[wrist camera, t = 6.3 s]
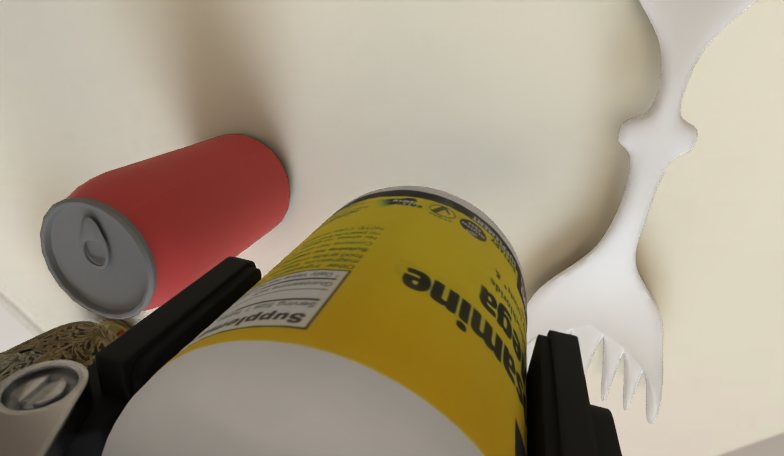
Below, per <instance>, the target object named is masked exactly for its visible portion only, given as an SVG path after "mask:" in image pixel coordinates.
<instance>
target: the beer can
mask: <svg viewBox="0 0 784 456" xmlns="http://www.w3.org/2000/svg"><path fill="white" fill-rule="evenodd" d="M289 198H290V188H289V182H288V176H287V174H286V172H285V170H284V168H283V166H282V164H281V162H280V160H279V159H278V158H277V157H276V156H275V155H274V153H273V152H272V151H271V150H270V149H269V148H268V147H266V146H265V145H263V144H262V143H260V142H259V141H257V140H256V139H253V138H250V137H247V136H244V135H240V134H231V135H222V136H219V137H216V138H213V139H209V140H206V141H203V142H200V143H197V144H194V145H191V146H187V147H184V148H181V149H178V150H175V151H172V152H168V153H165V154H162V155H159V156H156V157H153V158H149V159H146V160H143V161H140V162H137V163H134V164H130V165H127V166H124V167H121V168H118V169H115V170H111V171H108V172H105V173H103V174H101V175H99V176H97V177H94V178H92V179H90V180H88V181H87V182H85V183H84V184H82V185H81V186H79V187H78V188H77V189H76V190H75V191H74V192H73V193H72V194H71V195H70V196H69V197H68V198H67V199H64V200H62V201H60V202H58V203H56V204H54V205H52V207H51V208H50V209H49V211H48V212H47V213H46V215H45V216H44V218H43V223H42V227H41V232H40V238H41V247H42V253H43V256H44V258H45V261H46V264H47V266H48V269H49V271H50V272H51V274H52V275H53V277H54V278H55V280H56V282H57V283H58V285H59V286H60V287H61V288H62V289H63V290H64V291H65V292H66V293H67V294H68V296H69V297H70V298H71V299H72V300H73V301H75V302H76V303H78V304H79V305H81V306H82V307H84V308H85V309H87V310H88V311H90V312H93V313H95V314H98V315H101V316H103V317H106V318H113V319H126V318H129V317H133V316H136V315H138V314H139V313H141V312H142V311H145V310H149V309H153V308H156V307H160V306H162V305H163V304H165V303H166V302H167V301H169V300H170V299H171V298H173V297H174V296H175V295H177V294H178V293H180V292H181V291H182V290H184V289H185V288H186V287H188V286H189V285H190V284H192V283H193V282H194V281H196V280H197V279H199V278H200V277H201V276H203V275H204V274H205V273H207V272H208V271H209V270H211V269H212V268H214V267H215V266H216V265H218V264H219V263H220V262H222V261H223V260H224V259H226V258H227V257H229V256H231V257H236V256H237V255H238V254H240V253H241V252H242V251H244V250H245V249H247V248H248V247H249V246H251V245H252V244H253V243H255V242H256V241H257V240H259V239H260V238H261V237H263V236H264V235H265V234H267V233H268V232H269V231H271V230H272V229H273V228H274V227H275V226H277V225H278V224H279V223H280V222H281V221H282V219H283V217H284V216H285V214H286V212H287V210H288V205H289Z"/></svg>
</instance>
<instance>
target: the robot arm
mask: <svg viewBox="0 0 784 456" xmlns="http://www.w3.org/2000/svg"><path fill="white" fill-rule="evenodd" d="M260 280H261V271H260V270H259V269H257V268H256V266H255V263H254V262H253V261H249V260H245V259H241V258H236V257H231V256H229V257H227V258H226V259H224V260H223V261H222V262H220V263H219V264H218V265H216V266H215V267H214V268H212V269H211V270H209V271H208V272H207V273H205V274H204V275H203V276H201V277H200V278H199V279H197V280H196V281H194V282H193V283H192V284H190V285H189V286H188V287H186V288H185V289H184V290H182V291H181V292H180V293H178V294H177V295H175V296H174V297H173V298H171V299H170V300H169V301H167V302H166V303H165V304H163V305H162V306H161V307H159V308H158V309H156V310H155V311H154V312H152V313H151V314H150V315H148V316H147V317H146V318H144V319H143V320H141V321H140V322H139V323H137V324H136V325H135V326H133V327H132V328H131V329H129V330H128V331H127V332H125V333H124V334H122V335H121V336H120V337H118V338H117V339H116V340H114V341H113V342H112V343H110V344H109V345H108V346H106V347H105V348H103V349H102V350H101V351H99V352H98V353H97V354H95V359H96V361H95V362H94V363H93V364H91V365H90V366H89V367H87V368H85V367H84V366H83V365H82V364H80V363H78V362H75V361H71V360H51V361H45V362H41V363H37V364H33V365H30V366H28V367H25V368H23V369H20V370H18V371H16V372H14V373H13V374H11V375H9V376H8V377H6V378H5V379H3V380H2V381H1V382H0V456H101V455H102V452H103V449H104V447H105V444H106V441H107V438H108V436H109V434H110V432H111V430H112V428H113V426H114V424H115V422H116V421H117V419H118V417H119V416H120V414H121V413H122V411H123V409H124V408H125V406H126V405H127V404H128V402H129V401H130V400H131V398H132V397H133V396H134V395H135V394H136V393H137V392H138V391H139V390H140V389H141V388H142V387H143V386H144V385H145V384H146V383H147V382H148V381H149V380H150V379H151V378H152V377H153V375H154V374H155V373H156V372H157V371H159V370H160V369H161V368H162V367H163V366H164V365H165V364H166V363H167V362H168V361H170V360H171V359H172V358H173V357H174V356H176V355H177V354H178V353H179V352H180V351H181V350H182V349H183V348H184V347H185V346H186V345H188V344H189V343H190V342H191V341H193V340H194V339H195V338H196V337H197V336H198V335H199V334H200V333H202V332H203V331H204V330H205V329H206V328H208V327H209V326H210V325H211V324H212V323H213V322H214V321H215V320H216V319H218V318H219V317H220V316H221V315H222V314H223V313H224V312H225V311H226V310H228V309H229V308H230V307H231V306H232V305H233V304H234V303H235V302H236V301H237V300H238V299H240V298H241V297H242V296H243V295H244V294H245V293H246V292H248V291H249V290H250V289H251V288H252V287H253V286H254V285H255V284H256V283H258V282H259V281H260ZM527 424H528V432H527V456H622V454H621V450H620V446H619V441H618V437H617V433H616V428H615V424H614V420H613V416H612V414H611V412H610V410H609V409H606V408H602V407H598V406H594V405H590V402H589V397H588V391H587V386H586V380H585V374H584V369H583V363H582V357H581V352H580V346H579V341H578V337H577V336H575V335H570V334H566V333H562V332H557V331H553V330H549V332H548V334H547V336H544V335H540V334H538V336H537V339H536V342H535V346H534V349H533V353H532V356H531V360H530V364H529V367H528V371H527Z"/></svg>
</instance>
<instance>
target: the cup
mask: <svg viewBox="0 0 784 456" xmlns="http://www.w3.org/2000/svg"><path fill="white" fill-rule="evenodd" d="M129 329H131V328H130V327H129V326H128V325H127V324H126V323H124V322H123V321H121V320H118V319H106V320H102V321H100V322H99V323H93V322H87V321H81V322H73V323H68V324H65V325H62V326H59V327H57V328H54V329H52V330H49V331H47V332H45V333H43V334H40V335H38V336H36V337H34V338H32V339H30V340H28V341H26V342H24V343H21V344H20V345H17V346H15V347H13V348H11V349H9V350H7V351H5V352H2V353H0V382H1V381H2V380H3V379H5V378H6V377H8V376H9V375H11V374H13V373H14V372H16V371H18V370H20V369H23V368H25V367H28V366H30V365H33V364H37V363H41V362H45V361H51V360H71V361H75V362H78V363H80V364H82V365H83V366H84V367H85V368H87V367H89V366H90V365H91V364H93V363H94V362H95V361H96V359H95V354H97V353H98V352H99V351H101V350H102V349H103V348H105V347H106V346H108V345H109V344H110V343H112V342H113V341H114V340H116V339H117V338H118V337H120V336H121V335H122V334H124V333H125V332H127V331H128V330H129Z"/></svg>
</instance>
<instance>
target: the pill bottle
mask: <svg viewBox="0 0 784 456" xmlns="http://www.w3.org/2000/svg"><path fill="white" fill-rule="evenodd" d="M527 432H528V424H527V301H526V291H525V283H524V277H523V273H522V269H521V266H520V263H519V260H518V258H517V256H516V253H515V251H514V249H513V247H512V246H511V244H510V242H509V241H508V239H507V238H506V237H505V235H504V234H503V232H502V231H501V230H500V229H499V227H498V226H497V225H496V224H495V223H494V222H493V221H492V220H491V219H490V218H489V217H488V216H487V215H486V214H485V213H483V212H482V211H481V210H479V209H478V208H476V207H475V206H473V205H472V204H470V203H468V202H467V201H465V200H463V199H461V198H459V197H457V196H454V195H452V194H449V193H447V192H444V191H440V190H436V189H432V188H428V187H420V186H399V187H389V188H384V189H379V190H376V191H372V192H369V193H366V194H364V195H362V196H360V197H358V198H356V199H354V200H352V201H351V202H349V203H348V204H346V205H345V206H343V207H342V208H341V209H339V210H338V211H337V212H336V213H335V214H333V215H332V216H331V217H330V218H329V219H327V220H326V221H325V222H324V223H323V224H322V225H321V226H320V227H319V228H317V229H316V230H315V231H314V232H313V233H312V234H311V235H310V236H309V237H308V238H307V239H305V240H304V241H303V242H302V243H301V244H300V245H299V246H298V247H297V248H295V249H294V250H293V251H292V252H291V253H290V254H289V255H288V256H286V257H285V258H284V259H283V260H282V261H281V262H280V263H279V264H278V265H277V266H275V267H274V268H273V269H272V270H271V271H270V272H269V273H268V274H267V275H265V276H264V277H263V278H262V279H261V280H260V281H259V282H258V283H256V284H255V285H254V286H253V287H252V288H251V289H250V290H249V291H248V292H246V293H245V294H244V295H243V296H242V297H241V298H240V299H238V300H237V301H236V302H235V303H234V304H233V305H232V306H231V307H230V308H229V309H228V310H226V311H225V312H224V313H223V314H222V315H221V316H220V317H219V318H218V319H216V320H215V321H214V322H213V323H212V324H211V325H210V326H209V327H208V328H206V329H205V330H204V331H203V332H202V333H200V334H199V335H198V336H197V337H196V338H195V339H194V340H193V341H191V342H190V343H189V344H188V345H186V346H185V347H184V348H183V349H182V350H181V351H180V352H179V353H178V354H177V355H176V356H174V357H173V358H172V359H171V360H170V361H168V362H167V363H166V364H165V365H164V366H163V367H162V368H161V369H160V370H159V371H157V372H156V373H155V374H154V375H153V377H152V378H151V379H150V380H149V381H148V382H147V383H146V384H145V385H144V386H143V387H142V388H141V389H140V390H139V391H138V392H137V393H136V394H135V395H134V396H133V397H132V398H131V400H130V401H129V402H128V404H127V405H126V406H125V408H124V409H123V411H122V413H121V414H120V416H119V417H118V419H117V421H116V422H115V424H114V426H113V428H112V430H111V432H110V434H109V436H108V438H107V441H106V444H105V447H104V449H103V452H102V455H101V456H527Z"/></svg>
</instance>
